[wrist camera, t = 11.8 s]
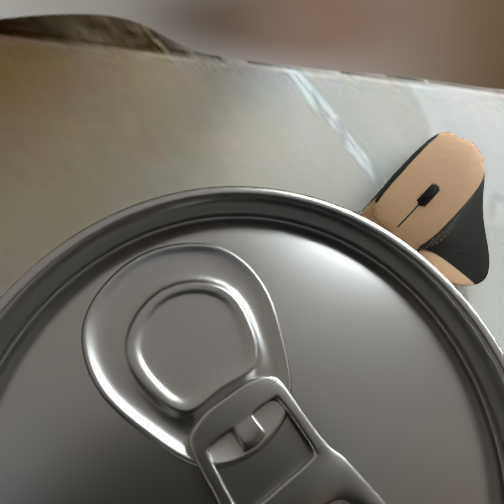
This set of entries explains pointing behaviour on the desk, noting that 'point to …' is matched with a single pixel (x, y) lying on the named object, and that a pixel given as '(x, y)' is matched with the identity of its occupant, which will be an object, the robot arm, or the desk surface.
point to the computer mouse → (439, 207)
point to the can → (245, 363)
